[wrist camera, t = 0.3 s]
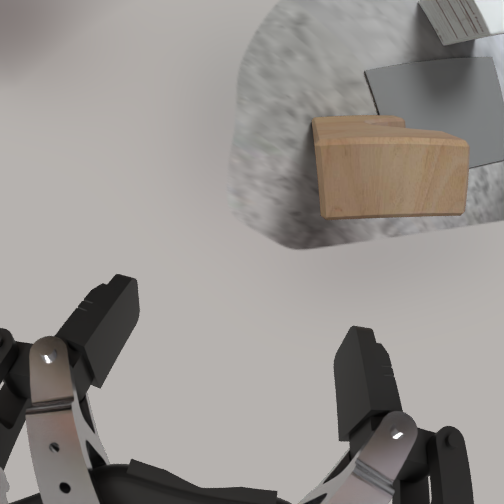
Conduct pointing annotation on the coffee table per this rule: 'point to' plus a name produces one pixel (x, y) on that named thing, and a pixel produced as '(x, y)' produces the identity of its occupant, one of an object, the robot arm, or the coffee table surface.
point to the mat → (446, 101)
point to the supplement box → (464, 19)
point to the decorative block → (388, 168)
